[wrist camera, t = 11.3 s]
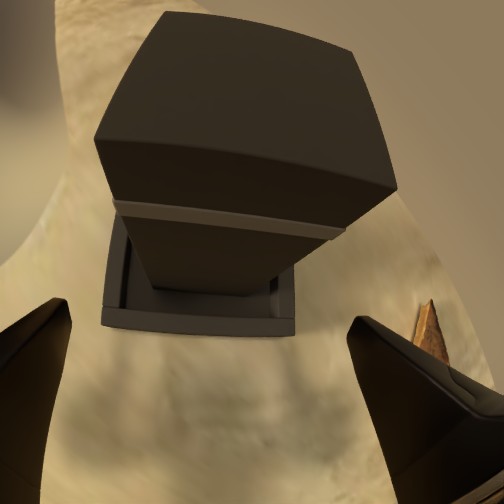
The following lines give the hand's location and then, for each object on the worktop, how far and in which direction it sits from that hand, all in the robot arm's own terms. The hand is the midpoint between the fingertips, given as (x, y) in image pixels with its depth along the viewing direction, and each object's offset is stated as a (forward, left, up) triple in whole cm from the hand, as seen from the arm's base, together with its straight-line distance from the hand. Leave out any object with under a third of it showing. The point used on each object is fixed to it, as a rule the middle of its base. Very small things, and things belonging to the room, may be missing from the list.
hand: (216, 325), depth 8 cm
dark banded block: (+5, -1, -8) cm, 10 cm away
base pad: (+5, -1, -9) cm, 10 cm away
